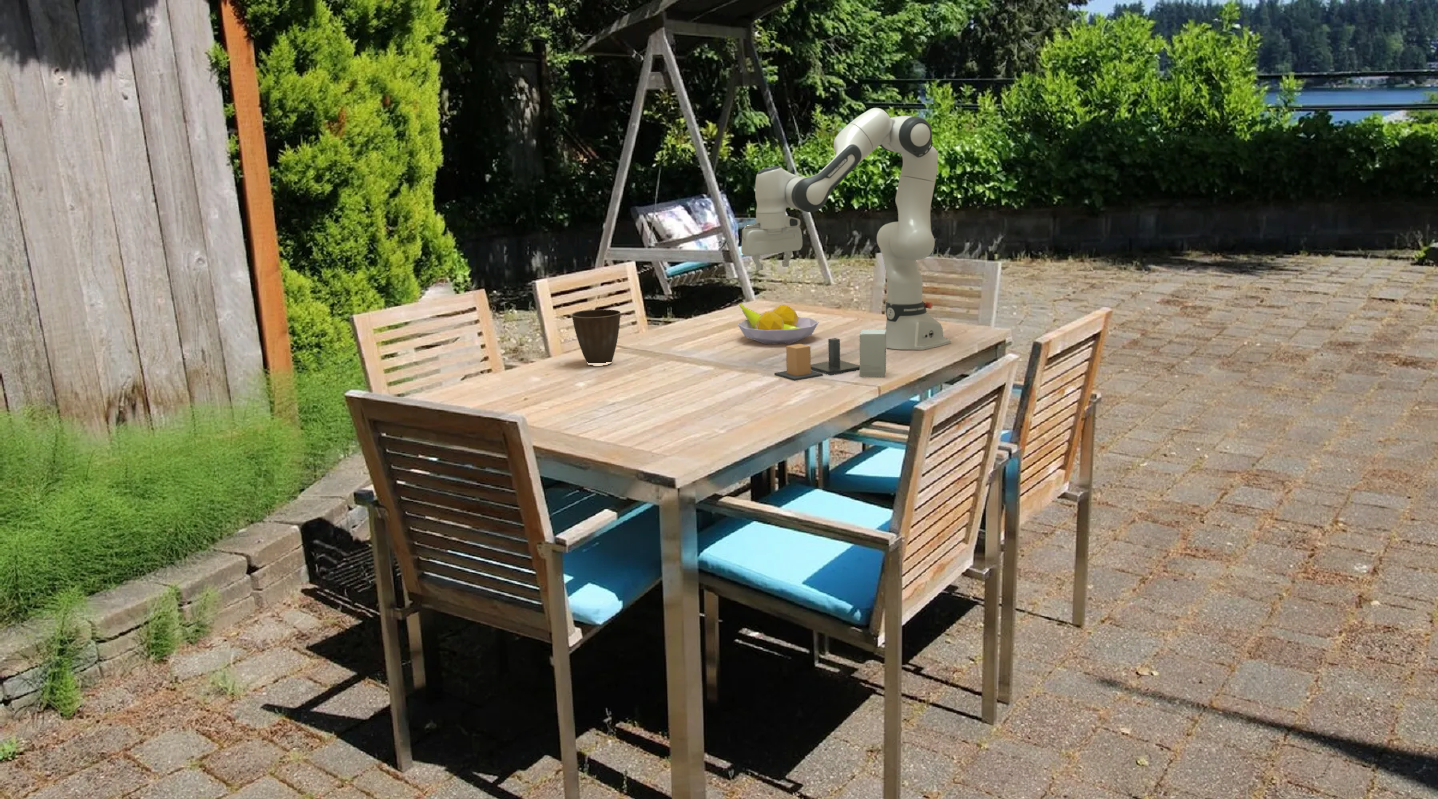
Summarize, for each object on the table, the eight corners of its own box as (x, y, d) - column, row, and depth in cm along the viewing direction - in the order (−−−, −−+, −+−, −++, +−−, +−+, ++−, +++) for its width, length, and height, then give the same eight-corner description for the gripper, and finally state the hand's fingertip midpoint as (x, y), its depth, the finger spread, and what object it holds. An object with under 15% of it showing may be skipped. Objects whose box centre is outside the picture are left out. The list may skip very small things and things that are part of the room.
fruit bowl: (834, 340, 399) (834, 306, 396) (768, 351, 384) (767, 316, 382) (783, 329, 422) (782, 297, 419) (719, 339, 407) (718, 306, 404)
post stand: (838, 363, 364) (837, 333, 362) (863, 369, 354) (863, 339, 352) (806, 368, 358) (805, 338, 356) (830, 375, 348) (830, 344, 346)
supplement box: (885, 377, 343) (885, 333, 340) (858, 377, 344) (858, 333, 341) (886, 372, 350) (886, 329, 347) (861, 371, 351) (861, 329, 348)
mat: (802, 370, 356) (802, 368, 356) (822, 375, 348) (822, 373, 347) (774, 374, 351) (774, 372, 351) (794, 380, 342) (794, 378, 342)
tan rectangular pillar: (800, 370, 352) (800, 343, 350) (810, 373, 348) (810, 346, 346) (786, 373, 350) (786, 346, 348) (796, 375, 346) (796, 348, 344)
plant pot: (565, 367, 371) (562, 315, 367) (592, 357, 384) (589, 308, 380) (606, 370, 364) (603, 318, 360) (632, 361, 377) (629, 310, 373)
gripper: (747, 225, 351) (749, 273, 355) (804, 219, 362) (806, 265, 365) (736, 224, 357) (738, 271, 360) (792, 218, 367) (793, 263, 370)
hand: (772, 268), depth 363 cm, fingers open, 8 cm apart
